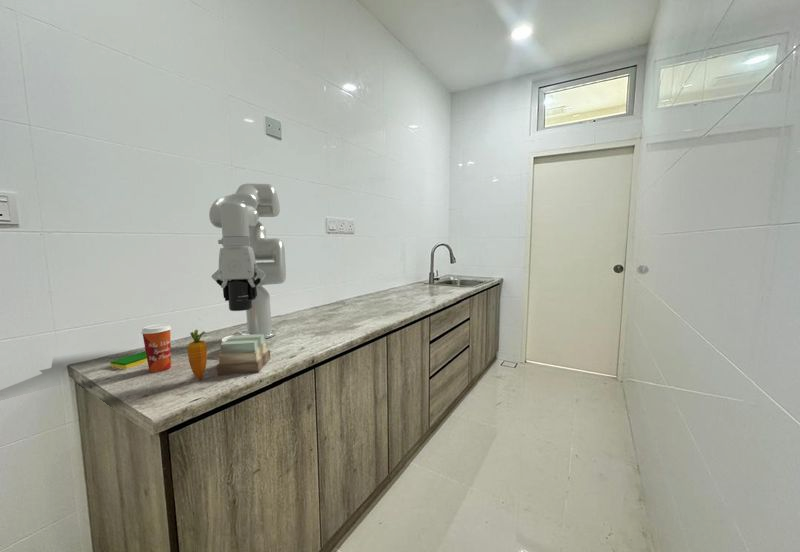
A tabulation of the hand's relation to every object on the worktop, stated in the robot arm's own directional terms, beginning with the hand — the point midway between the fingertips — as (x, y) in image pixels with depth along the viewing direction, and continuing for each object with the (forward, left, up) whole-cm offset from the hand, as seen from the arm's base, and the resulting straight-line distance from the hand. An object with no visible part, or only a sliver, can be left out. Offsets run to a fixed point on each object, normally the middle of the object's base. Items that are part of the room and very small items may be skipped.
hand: (240, 299), depth 102 cm
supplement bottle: (0, 0, -3) cm, 3 cm away
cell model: (-17, -9, -22) cm, 29 cm away
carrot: (+9, -10, -22) cm, 26 cm away
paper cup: (-2, -27, -22) cm, 35 cm away
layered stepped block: (0, 0, -22) cm, 22 cm away
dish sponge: (-11, -39, -23) cm, 46 cm away
